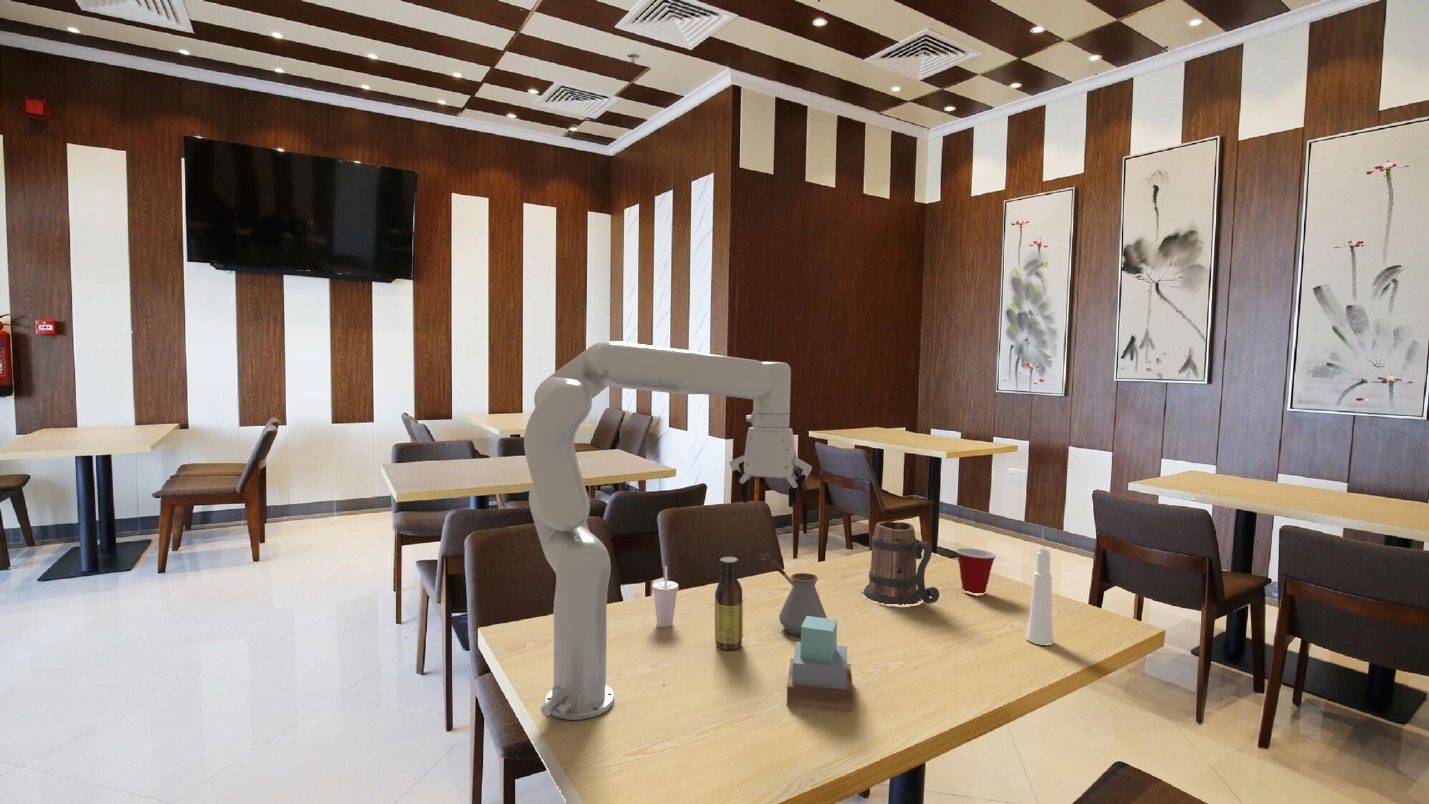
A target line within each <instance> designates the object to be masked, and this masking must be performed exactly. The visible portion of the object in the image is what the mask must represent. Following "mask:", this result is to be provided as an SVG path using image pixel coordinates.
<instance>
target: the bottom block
mask: <svg viewBox="0 0 1429 804" xmlns="http://www.w3.org/2000/svg"><path fill="white" fill-rule="evenodd" d="M793 659H794V658H790V659H789V660H790V661H789V670H788V678H787V685H786V706H790V707H802V708H809V709H810V708H811V709H821V710H830V711H838V712H848V713H853V711H854V710H853V707H854V705H853V704H854V691H853V690H854V688H853V687H854V686H853V675H852V673H853V672H852V666H851V663H847V690H843V689H834V688H825V687H816V686H807V685H798V684H792V673H793Z"/></svg>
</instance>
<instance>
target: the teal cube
mask: <svg viewBox="0 0 1429 804" xmlns="http://www.w3.org/2000/svg"><path fill="white" fill-rule="evenodd" d="M837 635H838V619H833V618H820V617H812V616H806V618H805V620H804V622H803V624H802V626H801V636H800V642H801V651H800V658H805V659H811V660H818V661H824V662H831V663H832V661H833V658H834V655H835V652H836V645H837V639H838V638H837V637H838V636H837Z"/></svg>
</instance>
